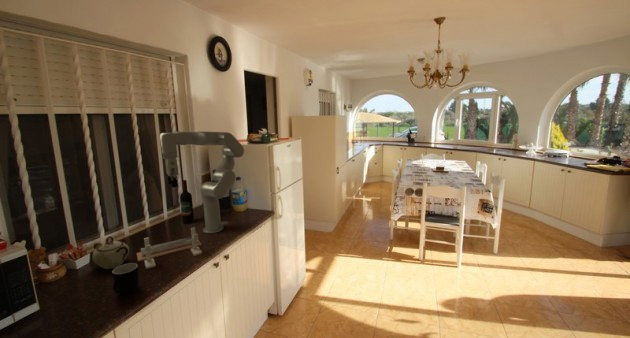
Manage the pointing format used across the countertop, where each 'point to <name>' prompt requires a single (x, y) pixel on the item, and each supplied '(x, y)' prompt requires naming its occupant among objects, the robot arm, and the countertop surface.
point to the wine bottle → (186, 205)
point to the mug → (125, 278)
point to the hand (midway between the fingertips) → (173, 185)
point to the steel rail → (168, 245)
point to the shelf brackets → (150, 262)
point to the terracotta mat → (167, 251)
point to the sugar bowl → (110, 253)
